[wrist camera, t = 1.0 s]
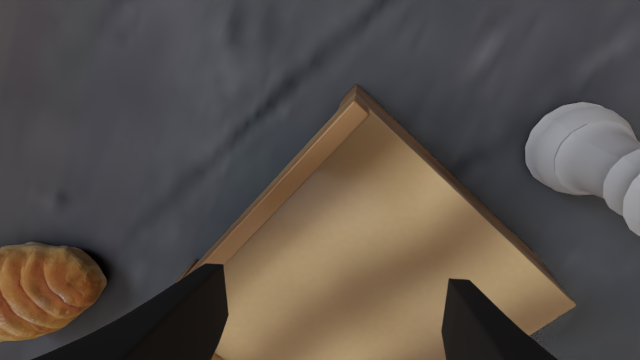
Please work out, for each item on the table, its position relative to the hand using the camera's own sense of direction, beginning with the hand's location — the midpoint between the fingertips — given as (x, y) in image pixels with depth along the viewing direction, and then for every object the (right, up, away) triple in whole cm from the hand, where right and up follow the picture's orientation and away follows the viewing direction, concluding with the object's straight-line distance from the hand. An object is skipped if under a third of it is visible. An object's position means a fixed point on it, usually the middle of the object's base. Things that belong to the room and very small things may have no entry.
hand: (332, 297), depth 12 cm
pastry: (-20, -3, +14) cm, 24 cm away
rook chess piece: (+12, +6, +7) cm, 15 cm away
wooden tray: (+1, -1, +11) cm, 11 cm away
